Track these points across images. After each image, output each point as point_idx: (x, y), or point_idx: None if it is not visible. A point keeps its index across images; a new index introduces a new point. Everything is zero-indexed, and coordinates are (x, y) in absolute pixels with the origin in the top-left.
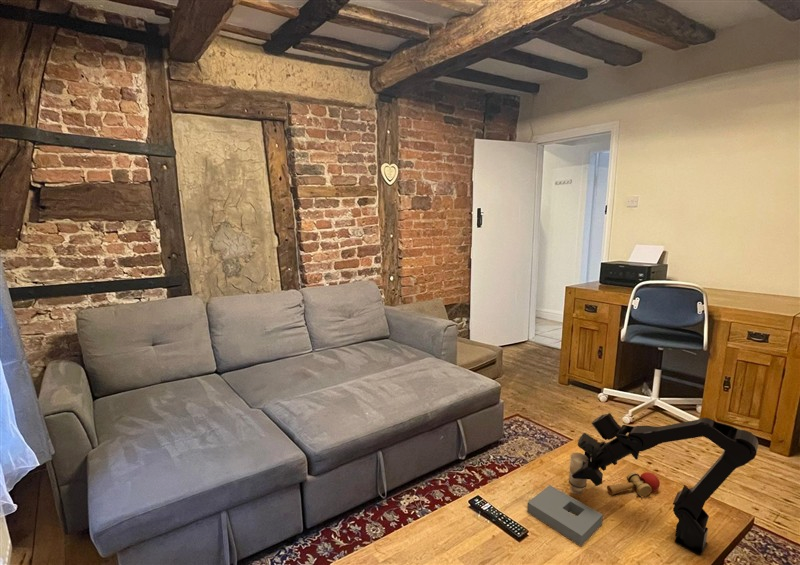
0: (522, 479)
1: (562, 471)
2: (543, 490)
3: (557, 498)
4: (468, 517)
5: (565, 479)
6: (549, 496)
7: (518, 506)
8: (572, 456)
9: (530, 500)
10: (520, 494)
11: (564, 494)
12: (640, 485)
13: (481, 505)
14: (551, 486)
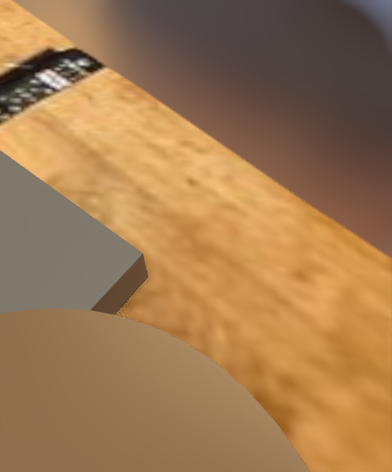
0: (228, 180)
1: (382, 378)
2: (88, 217)
3: (14, 282)
4: (2, 46)
5: (308, 387)
6: (33, 240)
7: (52, 156)
8: (48, 365)
9: (5, 156)
10: (126, 167)
11: None
12: None
13: (56, 71)
14: (129, 261)
